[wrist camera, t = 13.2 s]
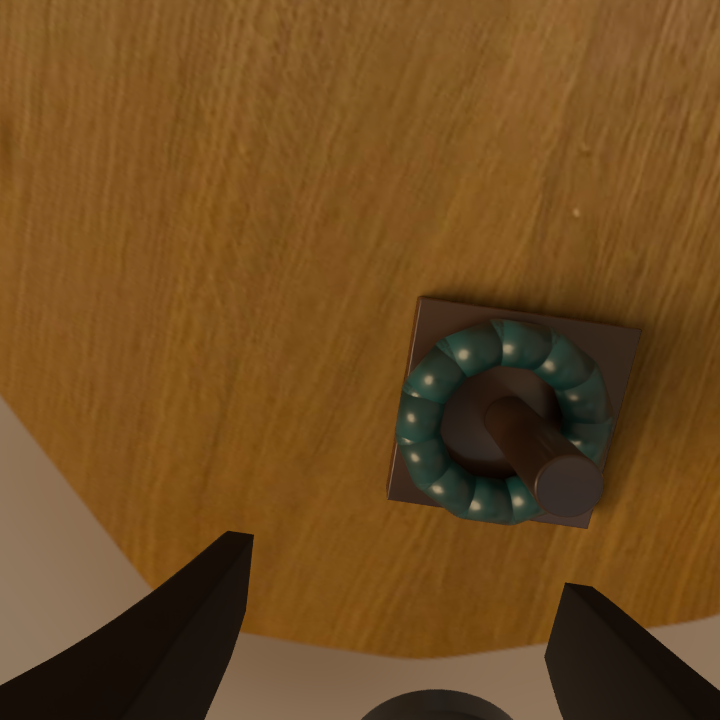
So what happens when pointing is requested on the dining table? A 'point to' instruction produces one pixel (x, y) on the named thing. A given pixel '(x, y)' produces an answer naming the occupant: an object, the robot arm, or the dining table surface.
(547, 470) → the post
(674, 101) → the dining table surface
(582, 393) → the ring
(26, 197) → the dining table surface
